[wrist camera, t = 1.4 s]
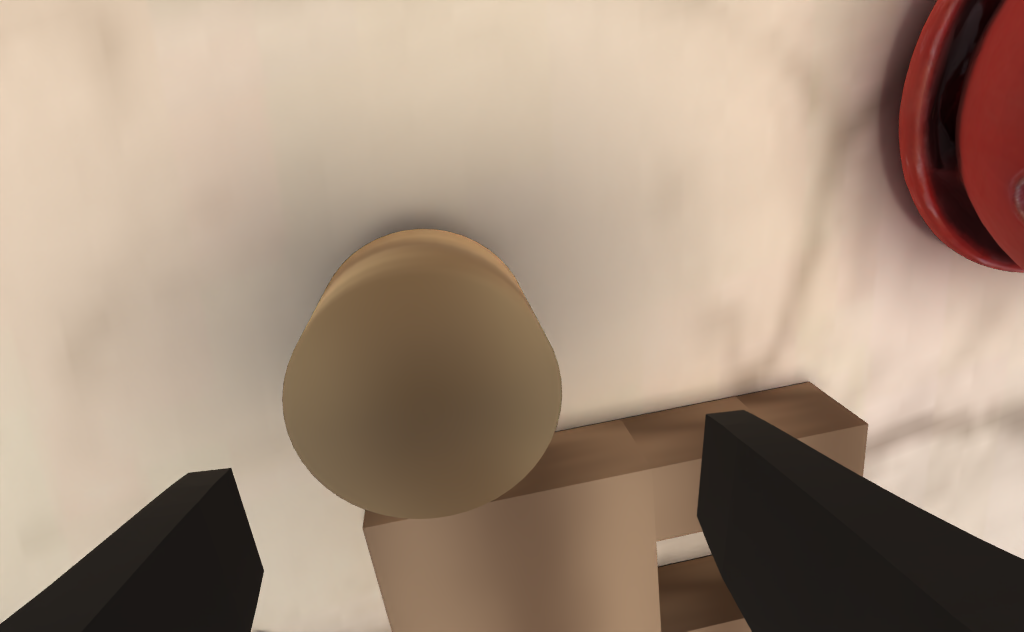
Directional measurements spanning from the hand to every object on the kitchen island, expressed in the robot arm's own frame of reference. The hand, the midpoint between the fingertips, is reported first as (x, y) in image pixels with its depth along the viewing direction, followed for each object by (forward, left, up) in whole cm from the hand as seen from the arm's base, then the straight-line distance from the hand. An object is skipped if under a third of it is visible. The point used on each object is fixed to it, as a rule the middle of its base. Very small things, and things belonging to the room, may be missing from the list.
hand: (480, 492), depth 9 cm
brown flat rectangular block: (+4, -11, -10) cm, 15 cm away
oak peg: (-1, 0, -10) cm, 10 cm away
